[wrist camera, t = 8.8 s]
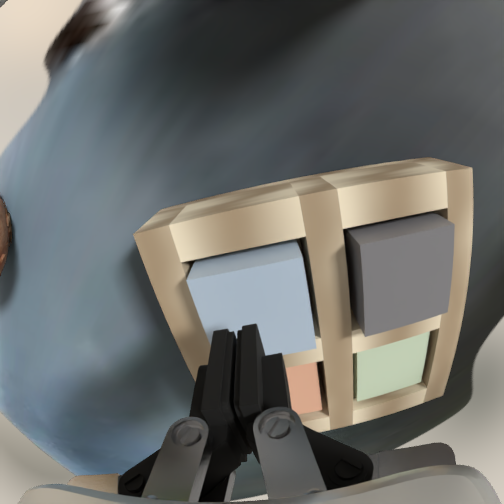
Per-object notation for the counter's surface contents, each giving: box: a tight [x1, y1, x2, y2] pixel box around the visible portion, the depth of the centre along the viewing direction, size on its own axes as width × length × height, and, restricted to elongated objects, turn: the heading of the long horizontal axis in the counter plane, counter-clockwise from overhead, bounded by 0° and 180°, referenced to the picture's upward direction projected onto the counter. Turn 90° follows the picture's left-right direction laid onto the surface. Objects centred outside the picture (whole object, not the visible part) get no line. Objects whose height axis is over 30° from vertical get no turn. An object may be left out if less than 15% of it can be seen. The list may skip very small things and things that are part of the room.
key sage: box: [353, 331, 430, 401], centre depth 18 cm, size 5×5×3 cm
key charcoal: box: [343, 211, 455, 337], centre depth 14 cm, size 5×5×3 cm
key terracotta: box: [286, 362, 322, 414], centre depth 19 cm, size 5×5×3 cm
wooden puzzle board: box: [133, 157, 473, 432], centre depth 18 cm, size 17×17×5 cm
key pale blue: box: [186, 239, 316, 355], centre depth 15 cm, size 5×5×3 cm
